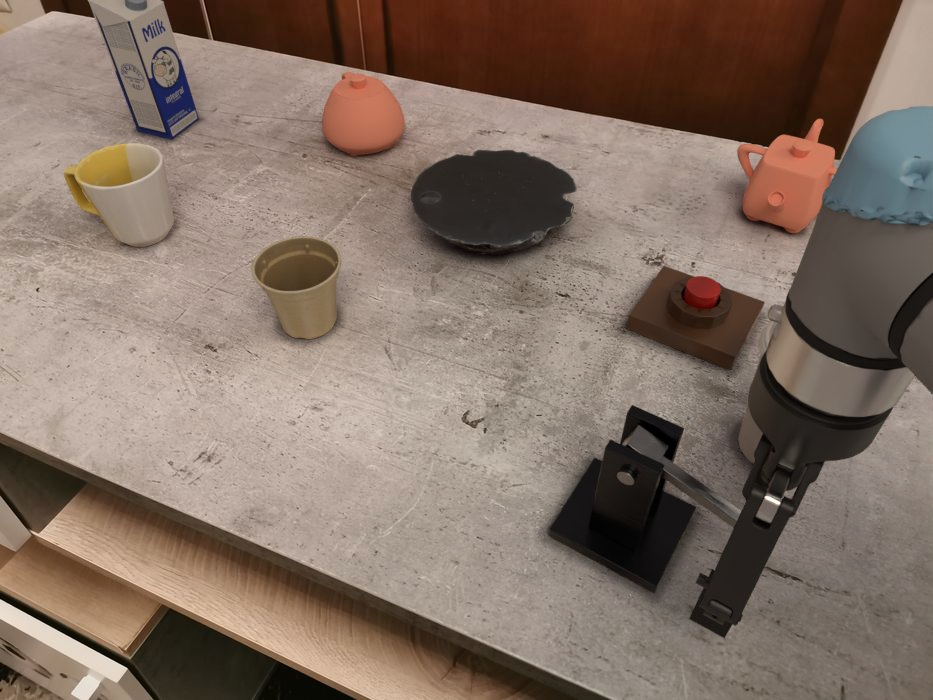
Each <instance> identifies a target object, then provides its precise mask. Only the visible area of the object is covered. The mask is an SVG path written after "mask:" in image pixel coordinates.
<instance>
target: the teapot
mask: <svg viewBox="0 0 933 700" xmlns="http://www.w3.org/2000/svg"><path fill="white" fill-rule="evenodd" d="M823 127H824V119H822V118H817V119H816V120H815V121H814V122H813V124H812V125H811V127H810V129H809V130H808V133H807V134H806V136H805V137H804V138H801V137H797V136H793V135H789V134H781V135H779V136H777V137H776V138H775V139H774V140H773V141H771V143H770V145H769V146H768V148H766V147H763V146H761V145H757V144H753V143H742V144H740V145H739V146H738V147H737V150H736V153H737V159H738V162H739V164H740V166H741V168H742V169H743V171H744V173H745V175H746V176H747V178H748V182H747V185H746V187H745V191H744V193H743V198H742V211H743V213H744V214H745V216H746V218H747V219H748V220H750V221H752V222H753V221H754V222H760V221H762V222H766V223H769V224H773V225H776V226H779V227H782V228H783V229H784V230H785V231H786V232H788V233H790V234H798V233H800V232H801V231H802V230H804V229H805V228H807V227H808V226H809V225H810V224H811V222H812V221H813V220H814V219H815V218H817V216H818V214H819V211H820V208H821V205H822V196H823V193H824V190H825V189H826V188H827V187H829V185H830V183H831V181H832V179H833V176H834V175H835V173H836V171H837V169H838V167H835V165H834V164H835V157H836V151H835V148H834V147H832V146H831V145H826V144H823V143H820V142H819V138H820V134H821V130H822V129H823ZM750 154H756V155H759V156H761V157H760V159H759V161H758V163H757V164H756V166H755V168H754V169H753V166H752V164H751V160H750Z"/></svg>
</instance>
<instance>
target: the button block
mask: <svg viewBox="0 0 933 700" xmlns="http://www.w3.org/2000/svg"><path fill="white" fill-rule="evenodd" d="M693 277H695V276H693V275H691V274H689V273H686V272H682V271H680V270H678V269H676V268H675V269H674V268H671V267H669V266H667V265H663V266H662V268H660V270H659V272H658V273H657V274H656V276H655V277H654V279H653V280H652V282H651V283H650V284H649V286H648V287H647V288H646V290H645V291H644V293H643V294H642V296H641V297H640V298H639V300H638V302H637V303H636V304H635V305H634V307H633V308H632V310H631V311H630V313H628V317H627V322H626V327H625V330H628V331H630V332H633V333H635V334H638V335H641V336H642V337H645V338H648V339H651V340H653V341H656V342H657V343H661V344H663V345H666V346H668V347H670V348H673V349H675V350H678V351H679V352H682V353H685V354H688V355H690V356H693V357H694V358H697V359H700V360H703V361H705V362H707V363H710V364H712V365H715V366H718V367H720V368H722V369H725V370H727V371H731V370H732V368H733V367H734V365H735V363H736V362H737V360H738V358H739V356H740V353H741V352H742V350H743V348H744V346H745V344H746V342H747V341H748V339H749V337H750V335H751V333H752V331H753V330H754V327H755V326H756V324H757V322H758V320H759V318H760V316H761V314H762V311H763V308H764V306H765V301H764V300H760V299H758V298H755V297H752V296H750V295H747V294H744V293H741V292H739V291H735V290H733V289H730V288H727V287H725V286H723V285H722V284H721V283H720V282H718V281H716V282H717V283H718V284H719V285H720V288H721V291H720V295H719V298H718V301H717V304H716V305H715V306H714V307H713V308H711V309H698V308H695V307H692V306H690V305H688V304H687V303H686V302H685V300H684V297H683V296H684V292H685V288H686V284H687V282H688V280H689V279H691V278H693Z"/></svg>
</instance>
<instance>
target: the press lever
mask: <svg viewBox="0 0 933 700" xmlns="http://www.w3.org/2000/svg"><path fill="white" fill-rule="evenodd" d="M622 445H624V446H626V447H628V448H630V449H632V450H634V451H637V452H639V453H641V454H643V455H645V456H647V457H649V458H651V459H654V460H656V461H658V462H660V463H662V464H664V468H663V471H662V474H661V477H662V478H664V479H665V480H667V483H669V484H671V485H672V486H674V488H677V489H678V490H679V491H681V492H682V493H683V494H685V495H687V496H688V497H689V498H690V499H692V500H693V501H694V502H696V503H698V504H699V505H701V506H702V507H704V508H705V510H707V511H709V512H710V513H711V514H713V515H714V516H715V517H717V518H719V519H720V520H722V521H723V522H724V523H726V524H727V525H728V526H730V527H731V528H732V529H733V528H734V526H735V524H736V522H737V520H738V517H739V515H740V513H741V511H742V509H740V508H738V507H737V506H735V505H734V504H733V503H731V502H730V501H729V500H727V499H726V498H724V497H722V496H721V495H720V494H719V493H718V492H715V491H714V490H713V489H711V488H710V487H708V485H706V484H705V483H703V482H701V481H700V480H698V479H697V478H695V476H693V475H691V474H690V473H689V472H687V471H686V470H684V469H683V468H681V466H679V465H677V464H676V463H675V462H671V461H670V460H669V459H667V458H666V457H664V454H665V452H666V450H667V449H668V447H669V446H668V445H667V444H665V443H664V442H663V441H661V440H660V439H658V438H657V437H655V436H654V435H653V434H651V433H650V432H648V431H647V430H645V429H644V428H643V427H641V426H640V425H638V426H637V427H636V428H635V429H634V430H633V431H632V432H631V433H630V435H629V436H628V437H627V438H626V439H625V441H624V442H623V444H622Z"/></svg>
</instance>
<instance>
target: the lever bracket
mask: <svg viewBox="0 0 933 700" xmlns="http://www.w3.org/2000/svg"><path fill="white" fill-rule="evenodd" d="M638 425H640V426H641V427H643V428H644V429H645V430H647V431H648V432H650V433H651V434H653V435H654V436H655V437H657V438H658V439H660V440H661V441H663V442H664V443H665V444H667V445H668V446H669V447H668V449H667V450H666V452H665V454H664V457H666V458H667V459H669V460H670V461H671V462H673V463H675V459H676V456H677V453H678V449H679V447H680V444H681V441H682V437H683V434H684V432H685V428H684V427H683V426H680V424H677V423H674V422H672V421H670V420H667V419H665V418H664V417H663V418H662V417H661V416H658V415H656V414H653V413H651V412H650V411H648V410H645V409H643V408H641V407H638V406H636V405H633V404H632V405H631V406H630V407H629V409H628V410H627V411H626V416H625V419H624V425H623V429H622V433H621V436H620V442H617V441H616V440H613V439H609V440H608V442H607V443H606V445H605V447H604V451H603V456H602V459H599V458H597V457H593V459H592V460H591V463H590V464H589V465H588V467H587V468H586V470H585V471H584V473H583V475H582V476H581V478H580V479H579V481H578V483H577V484H576V486H575V487H574V489H573V491H572V492H571V494H570V495H569V497H568V499H567V500H566V502H565V503H564V505H563V506H562V508H561V509H560V511H559V513H558V514H557V516H556V517H555V518H554V521H553V522H552V524H551V525H550V526H549V528H548V537H550V538H552V539H554V540H555V541H557V542H559V543H561V544H562V545H564V546H566V547H568V548H570V549H572V550H573V551H575V552H578V553H579V554H581V555H583V556H585V557H586V558H588V559H590V560H592V561H594V562H596V563H598V564H599V565H601V566H603V567H605V568H606V569H609V570H611V571H612V572H614V573H616V574H618V575H619V576H621V577H622V578H625V579H627V580H629V581H630V582H632V583H634V584H636V585H637V586H639V587H642V589H645V590H647V591H649V592H651V593H652V594H656V592H657V590H658V589H659V586H660V584H661V582H662V580H663V578H664V577H665V574H666V572H667V570H668V568H669V565H670V564H671V561H672V559H673V557H674V556H675V554H676V552H677V549H678V547H679V545H680V543H681V541H682V539H683V538H684V535H685V533H686V531H687V529H688V527H689V524H690V523H691V521H692V519H693V517H694V515H695V512H696V510H697V506H696V505H693V503H690V502H688V501H686V500H684V499H682V498H679V497H678V496H675V495H674V494H672V493H669V492H667V491H665V489H666V486H667V483H668V481H667V480H665V479H664V478H662V477H661V474H662V471H663V468H664V464H662V463H660V462H658V461H656V460H654V459H651V458H649V457H647V456H645V455H643V454H641V453H639V452H637V451H634V450H632V449H630V448H628V447H626V446H624V445H622V444H623V442H624V441H625V439H626V438H627V437H628V436H629V435H630V433H631V432H632V431H633V430H634V429H635V428H636V427H637V426H638Z"/></svg>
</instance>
